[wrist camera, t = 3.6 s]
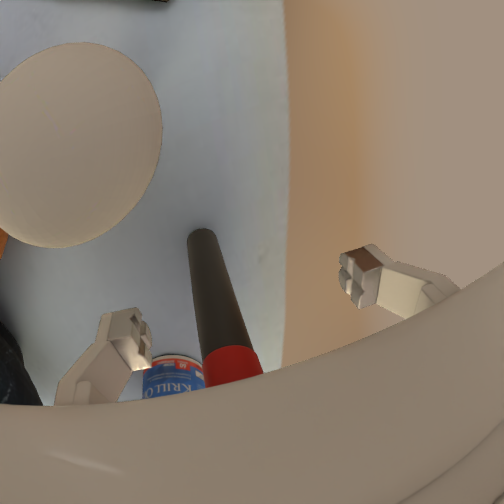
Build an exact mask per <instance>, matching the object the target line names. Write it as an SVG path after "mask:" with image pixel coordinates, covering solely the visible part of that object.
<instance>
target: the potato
mask: <svg viewBox="0 0 504 504" xmlns="http://www.w3.org/2000/svg"><path fill="white" fill-rule="evenodd" d="M7 239H8V233H7V232H5V231H4V230H3V229H1V228H0V259H1V258H2V254H3V251H4V248H5V245H6V242H7Z"/></svg>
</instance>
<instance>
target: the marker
mask: <svg viewBox="0 0 504 504" xmlns="http://www.w3.org/2000/svg"><path fill="white" fill-rule="evenodd" d="M187 248H188V258H189V267H190V276H191V285H192V293H193V301H194V309H195V316H196V323H197V330H198V337H199V343H200V349H201V356H202V362H203V364H202V370H203V376H204V382H205V387H206V388H208V387H213V386H217V385H222V384H226V383H230V382H234V381H238V380H242V379H246V378H249V377H253V376H257V375H260V374H264V373H263V370H262V368H261V365H260V362H259V359H258V356H257V354H256V353H255V352H254V350H253V347H252V344H251V341H250V338H249V335H248V332H247V329H246V326H245V323H244V320H243V318H242V315H241V312H240V309H239V306H238V303H237V300H236V297H235V294H234V290H233V287H232V284H231V281H230V278H229V275H228V272H227V269H226V266H225V263H224V260H223V256H222V253H221V250H220V247H219V244H218V241H217V237H216V235H215V234H214V233H213V232H212V231H211V230H208V229H204V228H202V229H197V230H195V231H193V232H192V233H191V234H190V235H189V237H188V240H187Z"/></svg>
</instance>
